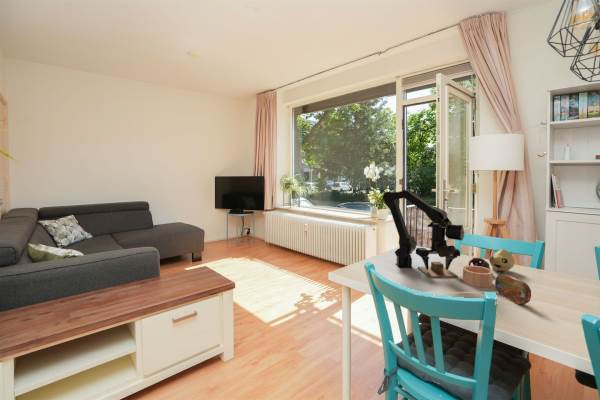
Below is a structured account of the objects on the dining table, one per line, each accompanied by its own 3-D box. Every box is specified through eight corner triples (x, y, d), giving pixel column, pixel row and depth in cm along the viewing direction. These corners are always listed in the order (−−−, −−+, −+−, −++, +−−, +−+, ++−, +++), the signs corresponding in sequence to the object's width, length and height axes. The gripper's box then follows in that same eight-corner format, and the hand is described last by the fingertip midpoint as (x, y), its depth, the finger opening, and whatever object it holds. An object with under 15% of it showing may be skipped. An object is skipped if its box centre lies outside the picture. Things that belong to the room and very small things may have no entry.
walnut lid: (428, 277, 138) (429, 267, 137) (417, 268, 151) (418, 259, 150) (457, 277, 138) (458, 267, 137) (444, 268, 151) (444, 258, 150)
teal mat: (427, 279, 137) (427, 278, 137) (414, 268, 152) (415, 267, 152) (461, 279, 137) (461, 278, 137) (445, 268, 152) (445, 267, 152)
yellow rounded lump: (484, 271, 147) (485, 249, 146) (493, 266, 155) (494, 245, 154) (508, 276, 140) (509, 254, 139) (516, 271, 148) (517, 249, 146)
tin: (493, 291, 124) (495, 271, 123) (501, 291, 124) (502, 270, 123) (523, 308, 109) (525, 285, 108) (532, 307, 109) (533, 285, 108)
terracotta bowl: (471, 288, 127) (472, 274, 126) (457, 278, 138) (458, 265, 137) (497, 288, 127) (498, 274, 126) (482, 278, 138) (482, 265, 137)
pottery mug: (497, 277, 141) (491, 263, 138) (476, 285, 143) (470, 271, 140) (484, 263, 152) (478, 250, 149) (465, 270, 154) (459, 257, 152)
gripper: (425, 241, 134) (424, 276, 136) (467, 241, 135) (466, 275, 136) (415, 235, 146) (414, 267, 147) (454, 235, 146) (453, 267, 147)
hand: (437, 269), depth 144 cm, fingers open, 9 cm apart
